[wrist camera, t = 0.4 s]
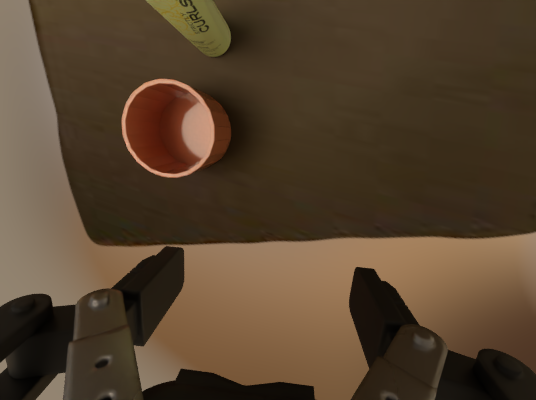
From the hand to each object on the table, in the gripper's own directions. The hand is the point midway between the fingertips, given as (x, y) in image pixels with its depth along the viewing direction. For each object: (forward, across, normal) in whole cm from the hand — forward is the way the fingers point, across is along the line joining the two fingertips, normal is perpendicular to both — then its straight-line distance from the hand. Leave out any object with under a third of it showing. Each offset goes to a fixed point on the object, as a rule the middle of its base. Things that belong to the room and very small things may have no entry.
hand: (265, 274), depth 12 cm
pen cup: (+29, +14, -5) cm, 32 cm away
